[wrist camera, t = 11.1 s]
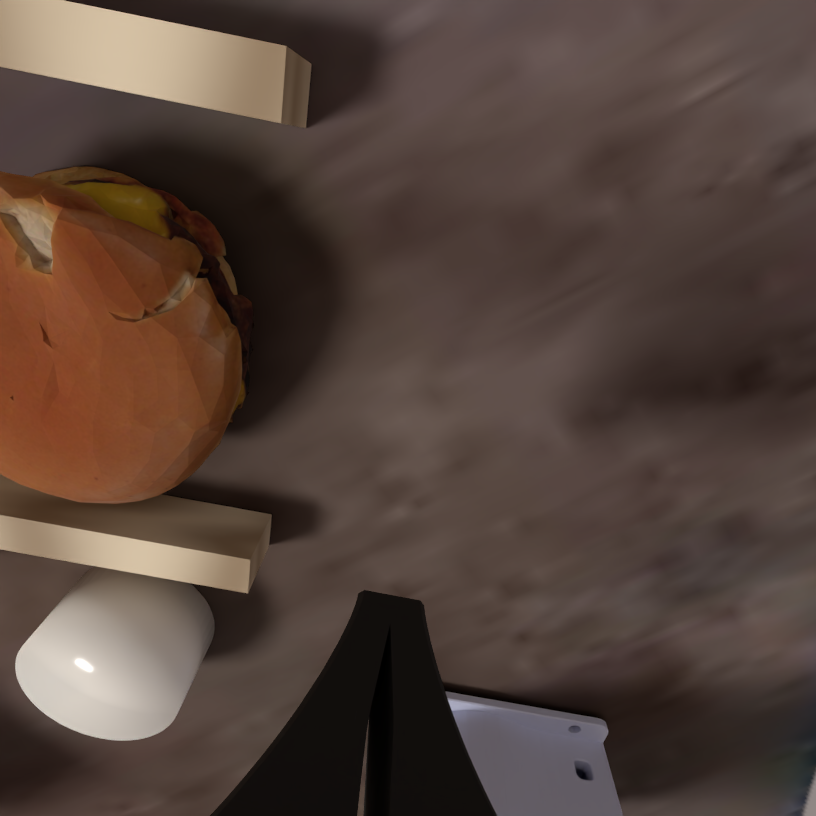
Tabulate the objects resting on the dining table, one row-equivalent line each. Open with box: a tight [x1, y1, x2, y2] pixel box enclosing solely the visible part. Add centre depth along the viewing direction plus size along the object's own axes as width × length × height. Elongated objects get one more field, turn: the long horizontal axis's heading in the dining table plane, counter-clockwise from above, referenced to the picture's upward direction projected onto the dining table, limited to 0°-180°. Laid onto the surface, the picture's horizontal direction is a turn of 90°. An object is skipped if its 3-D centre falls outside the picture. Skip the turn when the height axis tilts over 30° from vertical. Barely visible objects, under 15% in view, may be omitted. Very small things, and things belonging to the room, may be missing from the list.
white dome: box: [15, 566, 215, 741], centre depth 21 cm, size 6×6×4 cm
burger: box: [0, 167, 254, 504], centre depth 15 cm, size 10×9×5 cm
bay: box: [0, 0, 312, 593], centre depth 16 cm, size 14×16×3 cm
